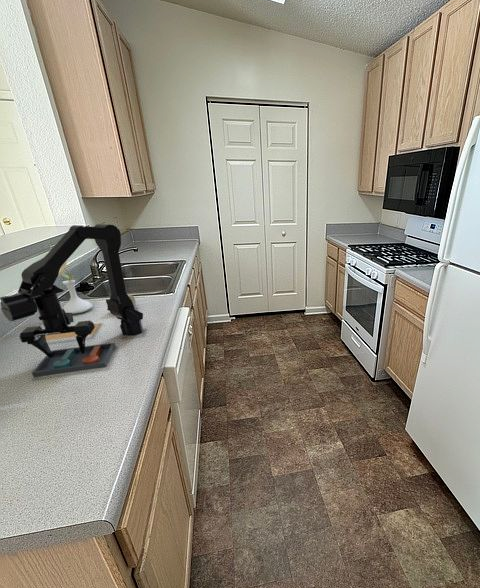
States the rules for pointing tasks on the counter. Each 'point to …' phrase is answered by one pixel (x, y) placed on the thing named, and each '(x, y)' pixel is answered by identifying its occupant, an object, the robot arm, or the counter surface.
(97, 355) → the terracotta spoon
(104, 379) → the counter surface
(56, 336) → the cork mat
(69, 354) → the teal spoon
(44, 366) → the tray
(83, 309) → the flower in vase
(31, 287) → the robot arm
